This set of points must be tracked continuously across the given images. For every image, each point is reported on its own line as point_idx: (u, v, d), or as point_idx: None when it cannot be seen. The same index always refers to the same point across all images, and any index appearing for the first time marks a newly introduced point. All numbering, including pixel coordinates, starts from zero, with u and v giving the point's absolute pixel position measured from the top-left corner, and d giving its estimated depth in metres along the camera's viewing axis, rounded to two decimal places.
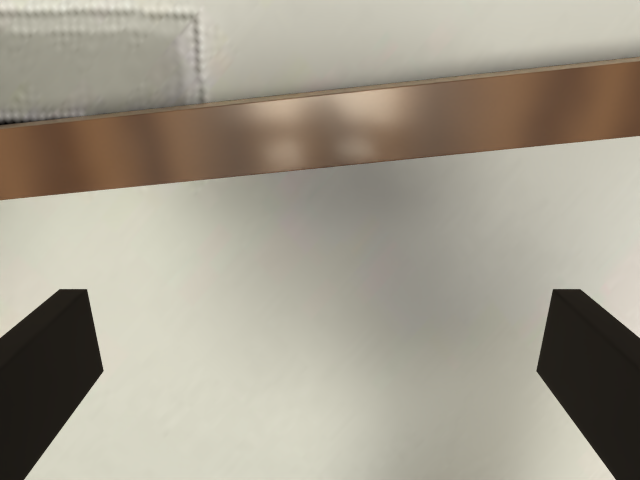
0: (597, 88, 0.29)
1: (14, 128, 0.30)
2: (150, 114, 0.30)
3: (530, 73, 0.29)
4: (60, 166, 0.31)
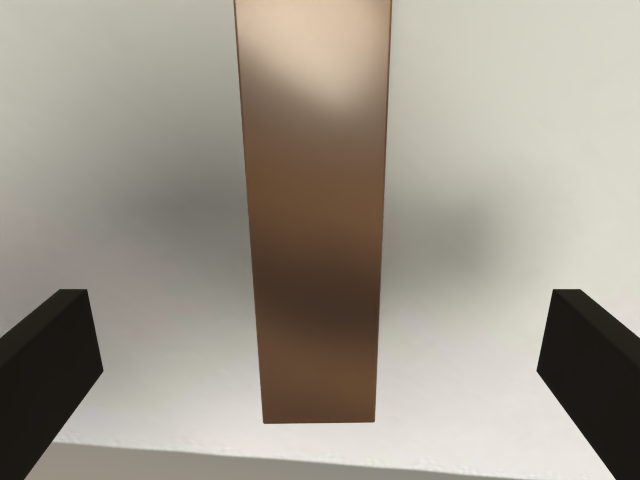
0: None
1: None
2: None
3: None
4: None
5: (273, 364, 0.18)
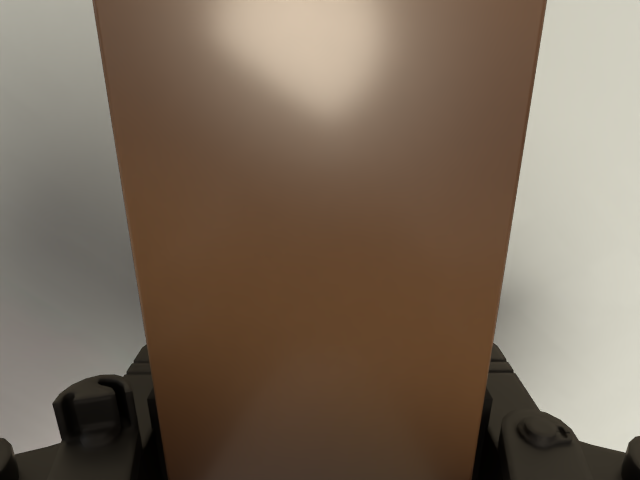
0: None
1: None
2: None
3: None
4: None
5: None
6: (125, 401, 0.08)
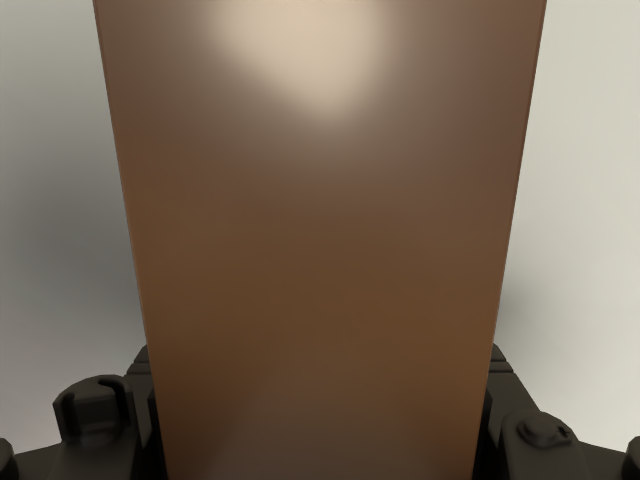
0: None
1: None
2: None
3: None
4: None
5: None
6: (125, 401, 0.08)
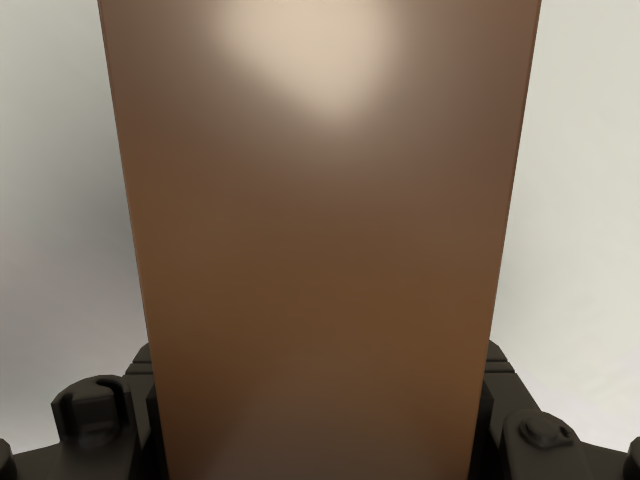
0: None
1: None
2: None
3: None
4: None
5: None
6: (124, 401, 0.08)
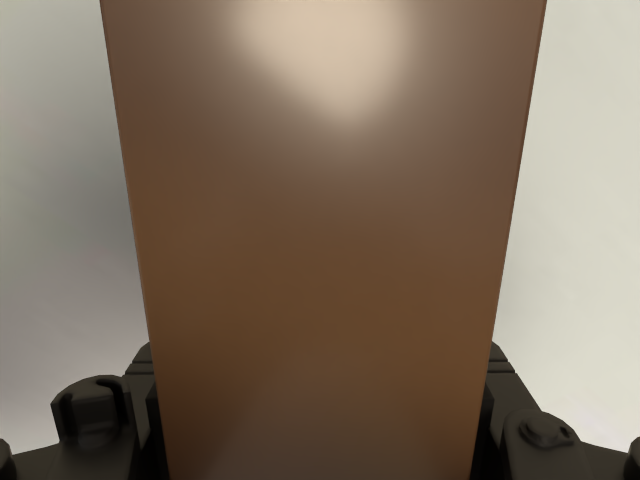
0: None
1: None
2: None
3: None
4: None
5: None
6: (123, 401, 0.08)
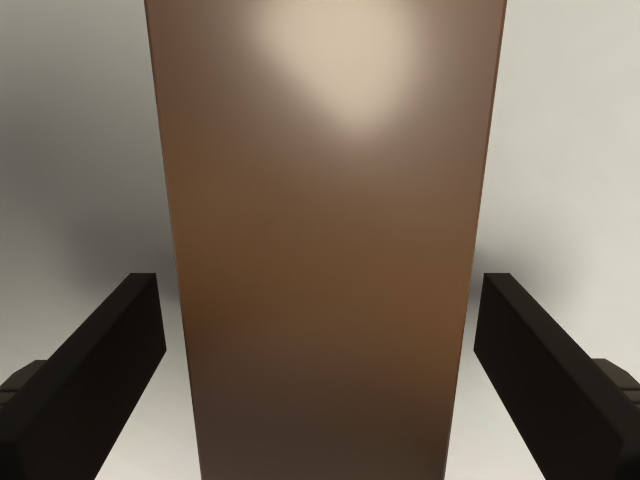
0: None
1: None
2: None
3: None
4: None
5: None
6: None
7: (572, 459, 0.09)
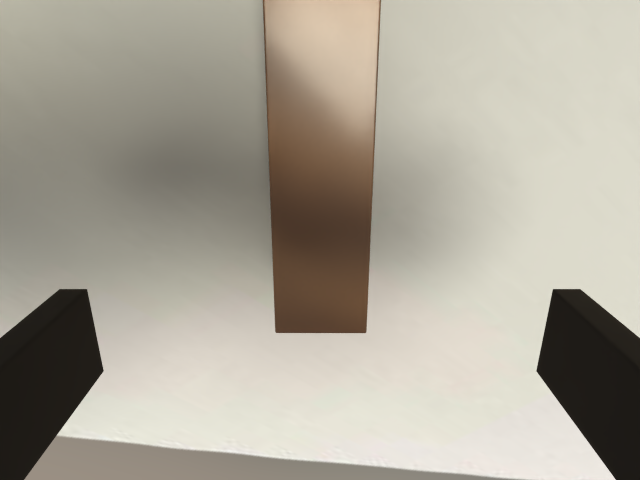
0: None
1: None
2: None
3: None
4: None
5: (285, 281, 0.22)
6: None
7: None
